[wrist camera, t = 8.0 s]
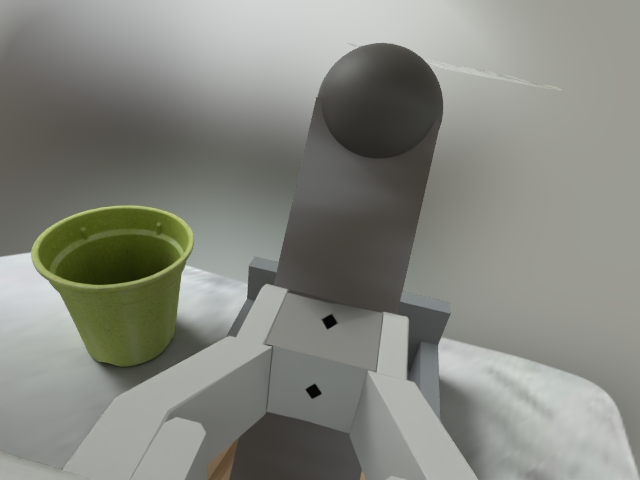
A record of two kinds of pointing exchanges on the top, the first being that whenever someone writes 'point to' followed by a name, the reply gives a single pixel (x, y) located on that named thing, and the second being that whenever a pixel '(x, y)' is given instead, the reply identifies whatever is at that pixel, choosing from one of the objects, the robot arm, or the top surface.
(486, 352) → the top surface
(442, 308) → the bin
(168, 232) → the plant pot
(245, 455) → the launcher
